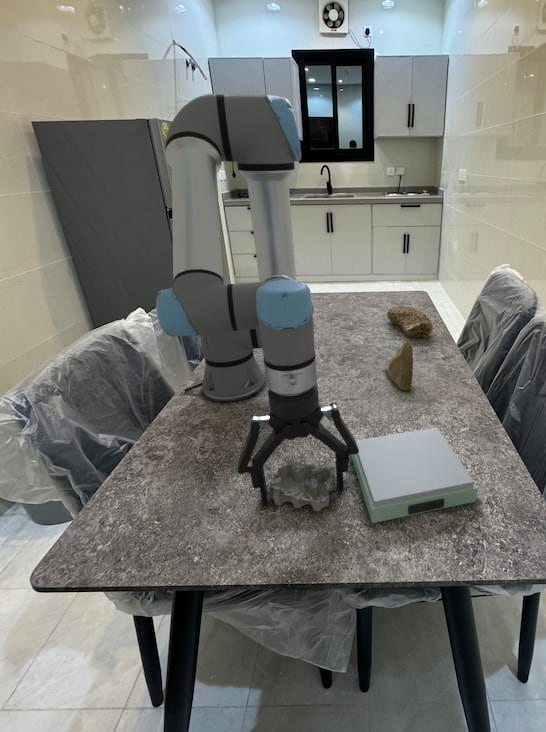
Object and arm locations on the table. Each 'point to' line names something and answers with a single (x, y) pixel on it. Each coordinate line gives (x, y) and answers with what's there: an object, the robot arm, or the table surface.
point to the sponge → (410, 321)
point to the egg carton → (302, 485)
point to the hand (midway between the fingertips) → (303, 492)
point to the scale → (410, 474)
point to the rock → (402, 367)
